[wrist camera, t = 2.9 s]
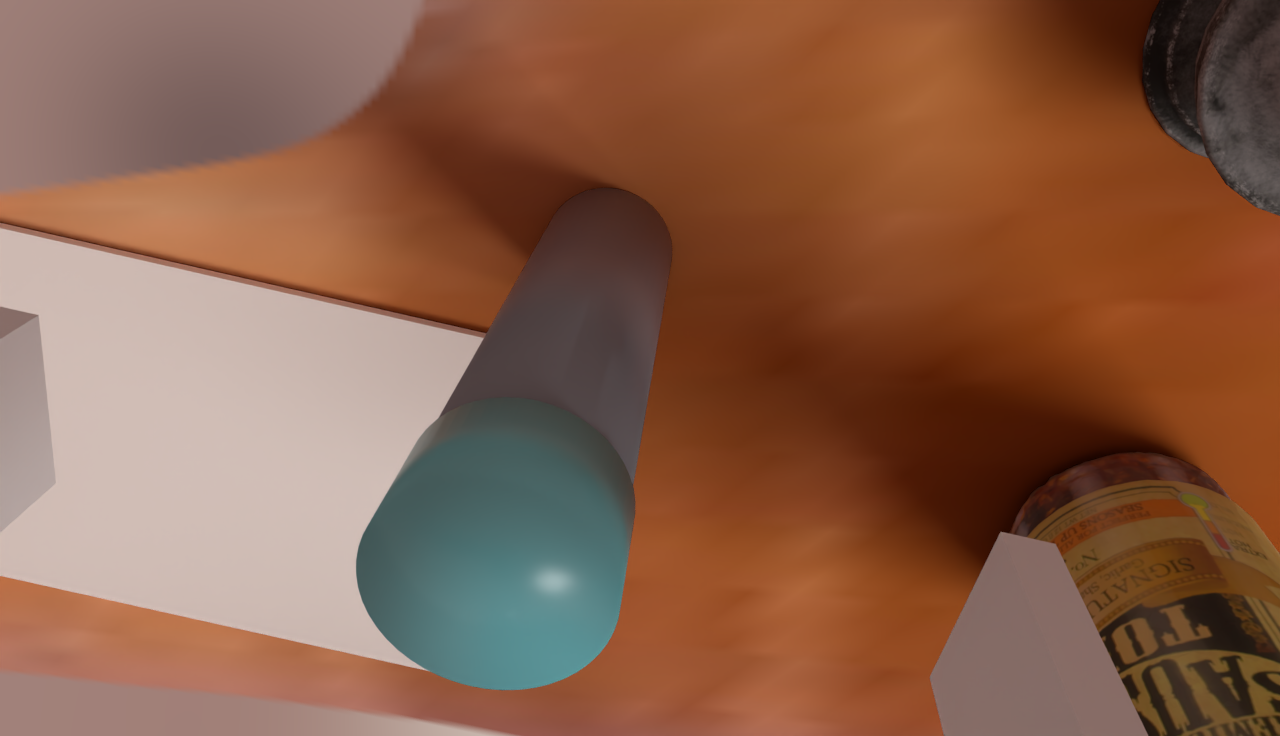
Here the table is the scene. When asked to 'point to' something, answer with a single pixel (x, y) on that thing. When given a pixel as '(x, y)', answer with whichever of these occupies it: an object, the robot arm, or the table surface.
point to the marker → (530, 465)
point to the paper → (217, 437)
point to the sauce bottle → (1170, 589)
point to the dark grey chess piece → (1220, 88)
